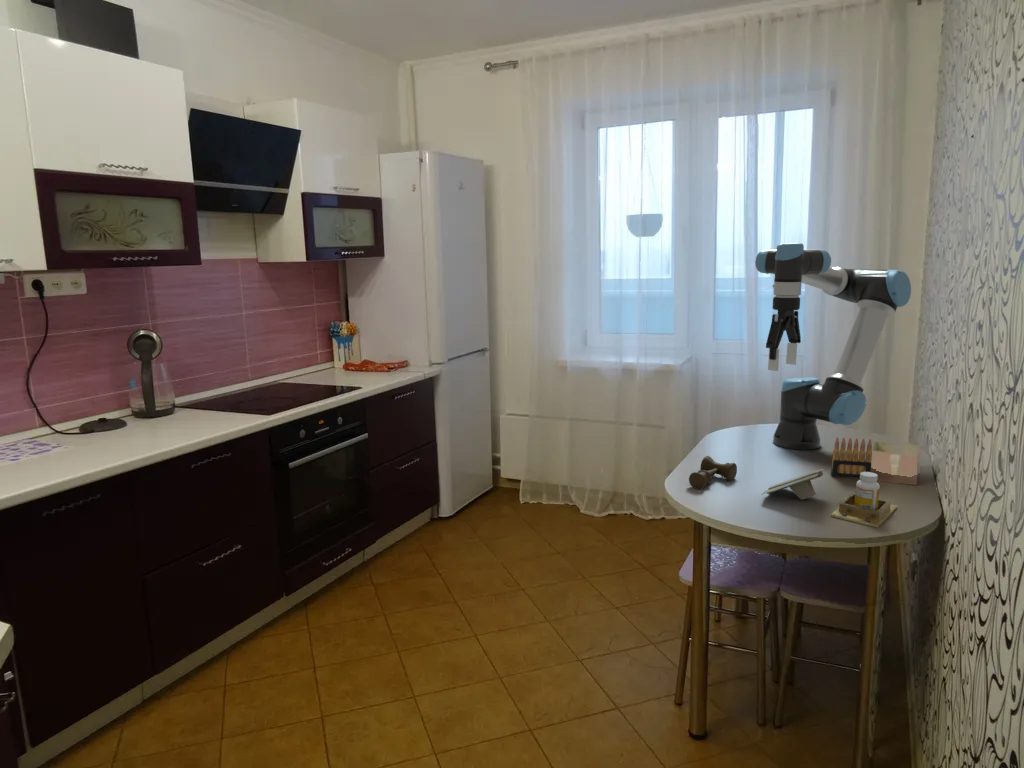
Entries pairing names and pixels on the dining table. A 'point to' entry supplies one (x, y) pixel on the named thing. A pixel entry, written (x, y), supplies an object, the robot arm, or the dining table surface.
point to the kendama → (711, 472)
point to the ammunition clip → (851, 459)
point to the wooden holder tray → (863, 512)
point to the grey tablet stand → (798, 485)
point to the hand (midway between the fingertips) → (782, 367)
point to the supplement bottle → (867, 491)
